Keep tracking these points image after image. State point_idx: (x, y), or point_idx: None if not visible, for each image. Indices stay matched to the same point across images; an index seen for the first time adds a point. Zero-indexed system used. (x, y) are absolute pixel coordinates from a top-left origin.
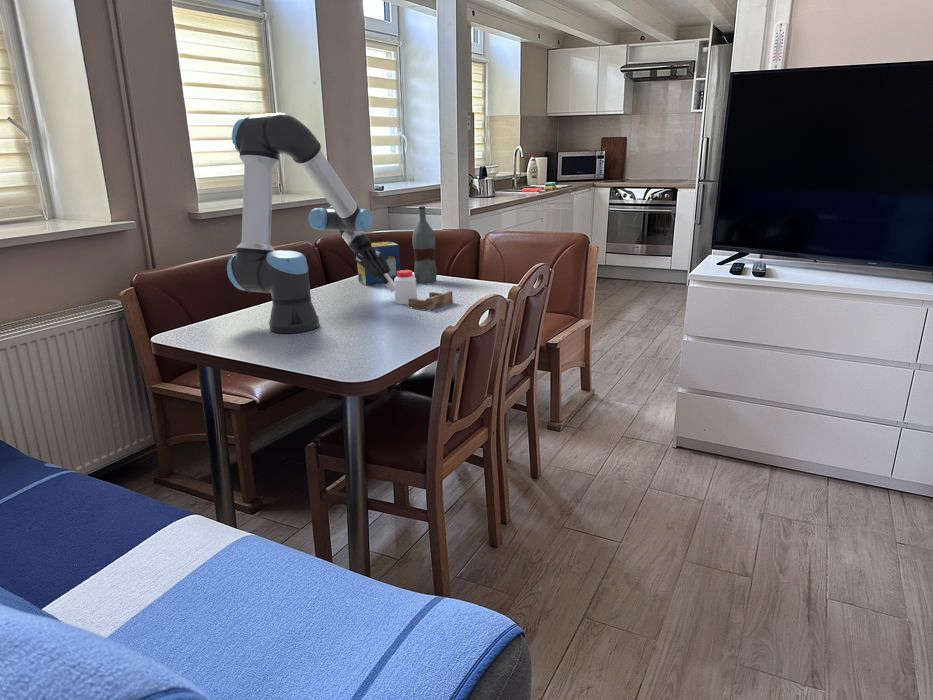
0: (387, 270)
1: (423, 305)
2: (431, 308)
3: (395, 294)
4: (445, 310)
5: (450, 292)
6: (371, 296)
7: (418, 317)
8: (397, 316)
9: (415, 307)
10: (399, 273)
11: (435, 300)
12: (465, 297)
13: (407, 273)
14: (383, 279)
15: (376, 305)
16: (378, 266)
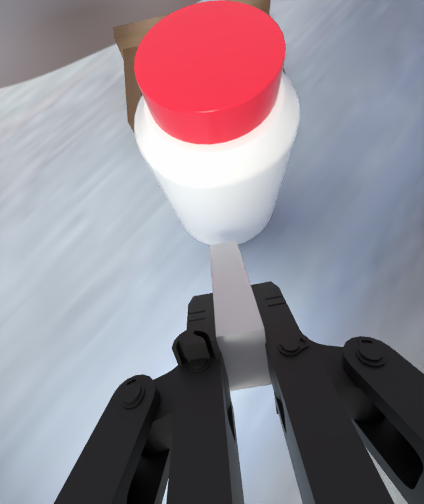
0: (159, 401)
1: None
2: None
3: (278, 192)
4: None
5: (126, 25)
6: (261, 481)
7: (343, 8)
8: (394, 53)
9: None
10: (281, 40)
11: None
12: (46, 102)
13: (229, 9)
14: (287, 309)
15: (365, 253)
16: (312, 490)
